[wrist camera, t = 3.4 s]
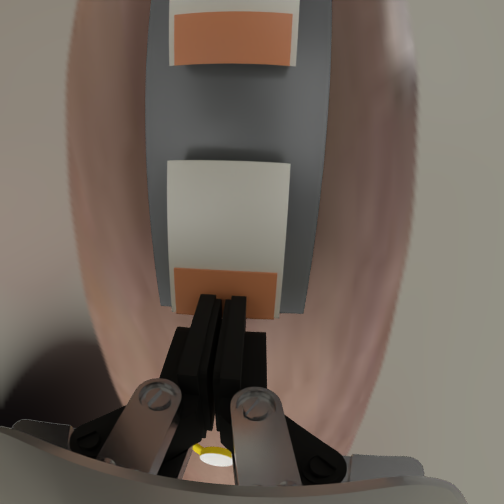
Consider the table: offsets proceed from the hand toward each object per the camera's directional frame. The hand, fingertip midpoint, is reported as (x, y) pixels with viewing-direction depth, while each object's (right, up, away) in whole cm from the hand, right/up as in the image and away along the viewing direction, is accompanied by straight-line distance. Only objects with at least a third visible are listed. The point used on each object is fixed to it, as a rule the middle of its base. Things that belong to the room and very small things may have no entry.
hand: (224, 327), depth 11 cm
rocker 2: (0, +3, 0) cm, 3 cm away
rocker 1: (+1, +11, -4) cm, 12 cm away
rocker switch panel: (0, +8, +4) cm, 9 cm away
